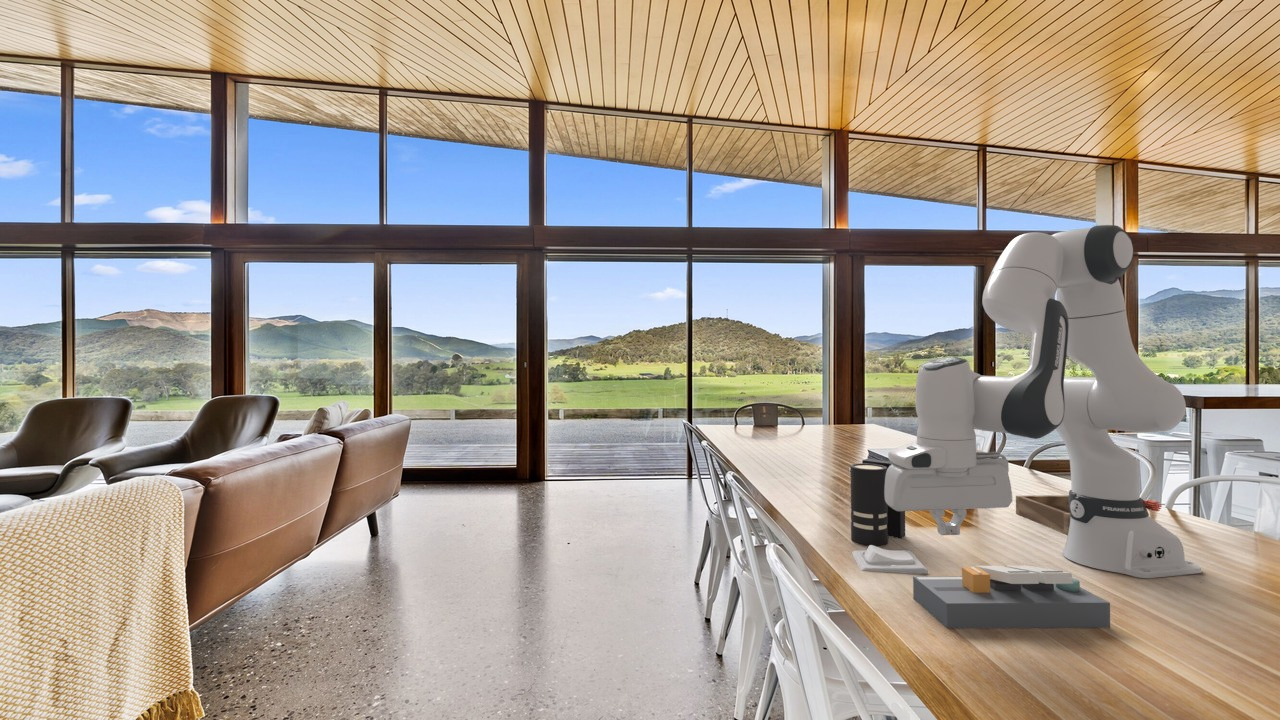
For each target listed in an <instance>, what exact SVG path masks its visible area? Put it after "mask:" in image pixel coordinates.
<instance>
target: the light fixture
mask: <svg viewBox="0 0 1280 720" xmlns="http://www.w3.org/2000/svg"><path fill="white" fill-rule="evenodd" d="M861 462H862V463H859V462H858V463H853V464H850V529H851V530H850V539H851V541H852V542H853V543H855V544H856V545H859V546H860V545H861V546H865V547H869V546H870V545H873V546H876V547H879V548H881V547H885V546H887V545H888V544H889V537H890V538H895V539H900V540H901V539H903V538H904V537H906V511H896V510H894V509H892V508H891V507H890V506H889V505H888V504H887V503H886V502H885V494H884V491H885V476H886V471H887V469H888V467H889V466H890V465H892V464H894V463H892V462H891V461H890V460H881V459H873V458H865V459H862V461H861Z"/></svg>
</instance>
